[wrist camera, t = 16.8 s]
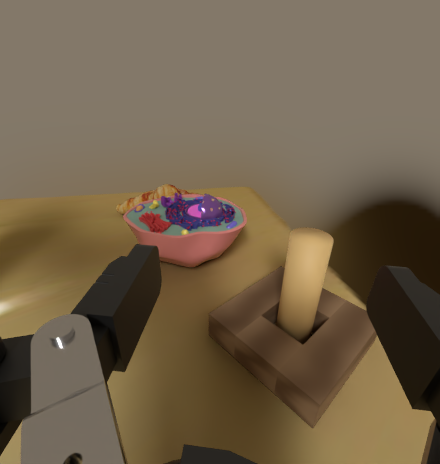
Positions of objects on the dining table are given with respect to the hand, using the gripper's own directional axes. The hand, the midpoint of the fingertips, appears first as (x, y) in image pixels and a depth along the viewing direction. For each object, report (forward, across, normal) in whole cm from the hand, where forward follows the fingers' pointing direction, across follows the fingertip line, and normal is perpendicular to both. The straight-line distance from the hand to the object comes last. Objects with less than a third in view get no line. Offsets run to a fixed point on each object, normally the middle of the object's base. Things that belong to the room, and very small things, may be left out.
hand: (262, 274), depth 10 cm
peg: (+15, -6, +21) cm, 26 cm away
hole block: (+15, -6, +21) cm, 26 cm away
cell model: (+32, +10, +22) cm, 40 cm away
